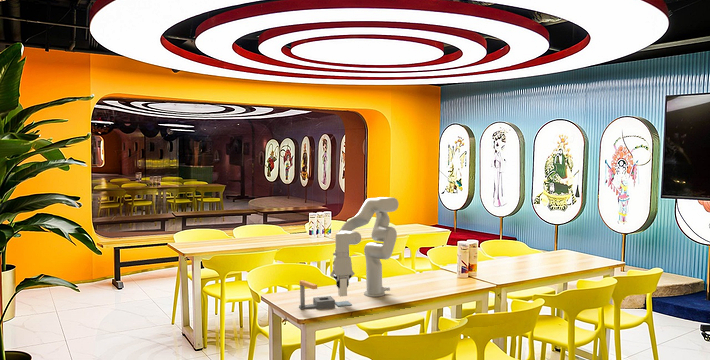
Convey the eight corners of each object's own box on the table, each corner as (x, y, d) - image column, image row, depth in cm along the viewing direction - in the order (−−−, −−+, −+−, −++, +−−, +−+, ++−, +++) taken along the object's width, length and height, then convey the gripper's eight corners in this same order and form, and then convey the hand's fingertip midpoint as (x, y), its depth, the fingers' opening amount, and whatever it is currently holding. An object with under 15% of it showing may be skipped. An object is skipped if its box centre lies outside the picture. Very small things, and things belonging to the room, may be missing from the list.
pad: (348, 301, 287) (348, 300, 287) (352, 305, 280) (352, 304, 280) (334, 303, 285) (334, 302, 285) (338, 306, 278) (338, 305, 278)
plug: (345, 294, 285) (345, 274, 285) (347, 296, 281) (347, 276, 281) (338, 294, 284) (338, 275, 283) (340, 296, 280) (339, 276, 279)
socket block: (330, 303, 286) (330, 280, 285) (335, 307, 276) (334, 284, 276) (298, 306, 280) (298, 283, 280) (301, 310, 271) (301, 287, 271)
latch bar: (317, 288, 265) (317, 284, 265) (312, 289, 263) (312, 285, 263) (303, 283, 278) (303, 280, 278) (298, 284, 276) (298, 280, 276)
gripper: (329, 256, 276) (329, 289, 276) (358, 254, 281) (358, 287, 281) (326, 254, 283) (326, 286, 283) (354, 252, 288) (354, 284, 288)
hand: (342, 286), depth 282 cm, fingers closed on plug, 4 cm apart
